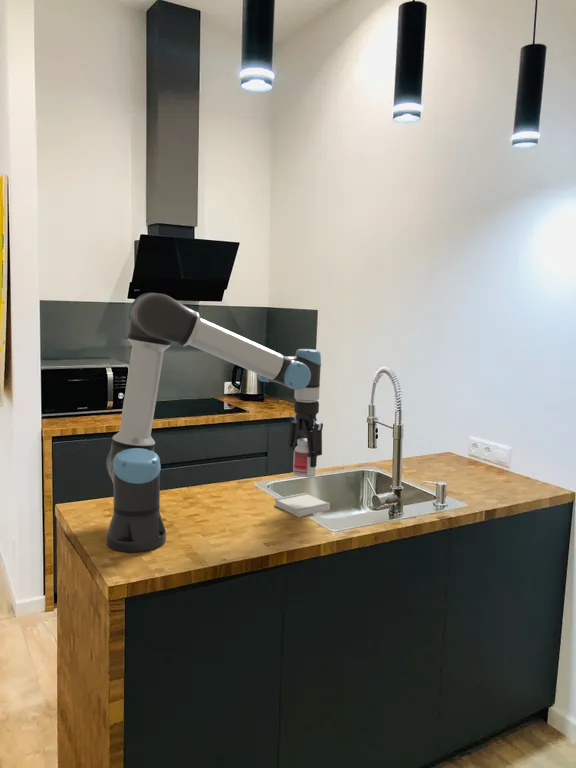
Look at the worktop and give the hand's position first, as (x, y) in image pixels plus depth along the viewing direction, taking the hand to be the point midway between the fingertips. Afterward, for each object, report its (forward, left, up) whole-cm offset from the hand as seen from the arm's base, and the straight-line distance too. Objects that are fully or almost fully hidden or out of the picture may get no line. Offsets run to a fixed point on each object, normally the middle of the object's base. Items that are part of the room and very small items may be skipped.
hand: (303, 474), depth 196 cm
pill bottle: (0, 0, 0) cm, 0 cm away
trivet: (0, 0, -11) cm, 11 cm away
